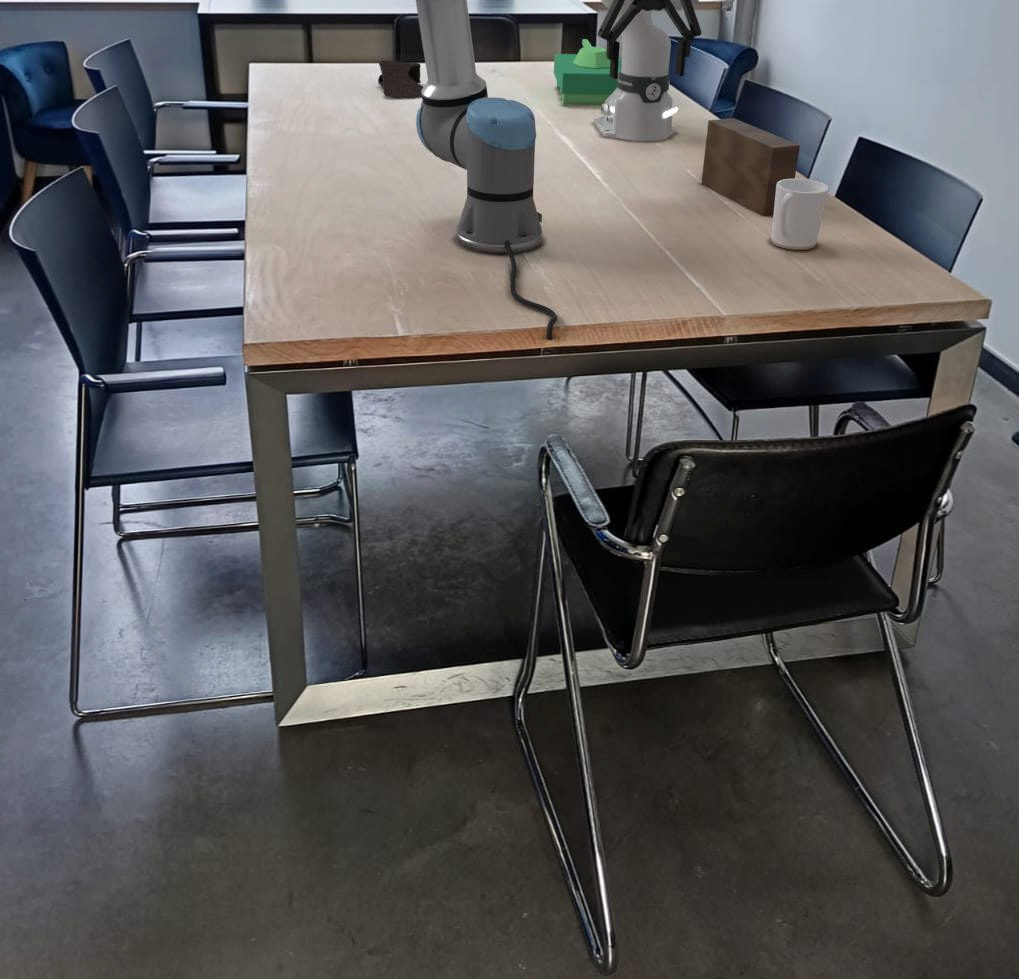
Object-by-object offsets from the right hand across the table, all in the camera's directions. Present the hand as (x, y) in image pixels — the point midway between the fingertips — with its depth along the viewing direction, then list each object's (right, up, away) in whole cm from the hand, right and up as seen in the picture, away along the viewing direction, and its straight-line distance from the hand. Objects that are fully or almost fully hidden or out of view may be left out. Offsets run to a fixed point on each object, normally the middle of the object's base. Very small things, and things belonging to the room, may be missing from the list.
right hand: (707, 11), depth 224 cm
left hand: (-14, -17, -10) cm, 24 cm away
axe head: (-70, +11, +76) cm, 104 cm away
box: (+7, -39, -3) cm, 40 cm away
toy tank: (-19, +11, +78) cm, 81 cm away
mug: (+10, -54, -27) cm, 61 cm away
